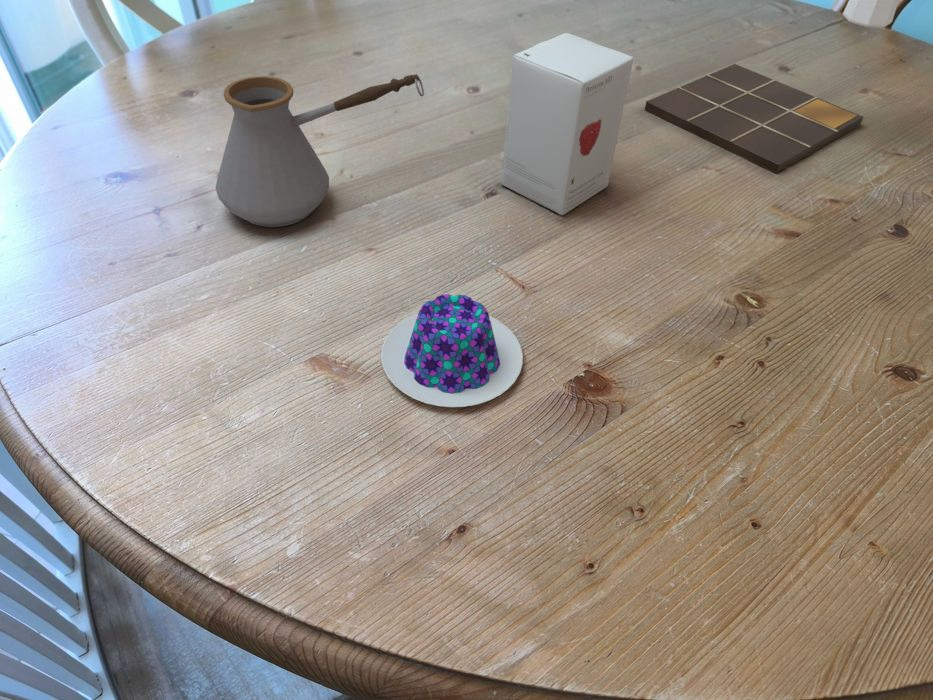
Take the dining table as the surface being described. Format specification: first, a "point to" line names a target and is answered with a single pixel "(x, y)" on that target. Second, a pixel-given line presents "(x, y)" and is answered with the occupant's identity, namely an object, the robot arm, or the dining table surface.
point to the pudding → (452, 354)
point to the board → (754, 116)
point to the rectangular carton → (564, 120)
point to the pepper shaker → (871, 12)
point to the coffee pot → (278, 151)
